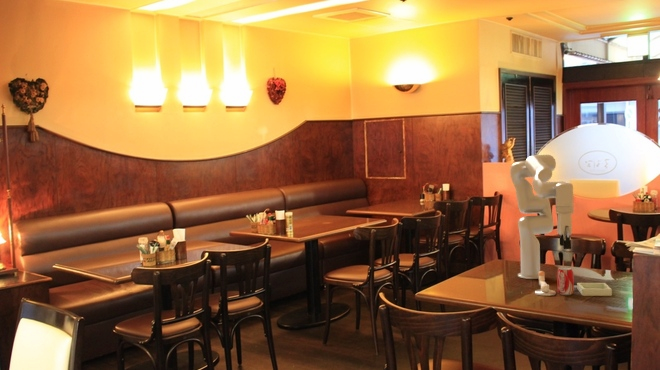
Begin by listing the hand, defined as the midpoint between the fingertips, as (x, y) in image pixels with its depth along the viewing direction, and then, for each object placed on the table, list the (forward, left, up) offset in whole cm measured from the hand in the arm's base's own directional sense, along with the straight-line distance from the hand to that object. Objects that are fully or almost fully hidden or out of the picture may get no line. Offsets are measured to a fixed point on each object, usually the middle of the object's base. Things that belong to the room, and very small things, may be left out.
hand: (565, 247), depth 291 cm
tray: (-3, +13, -22) cm, 25 cm away
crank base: (0, -9, -22) cm, 24 cm away
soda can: (0, 0, -22) cm, 22 cm away
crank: (-5, -9, -20) cm, 23 cm away
